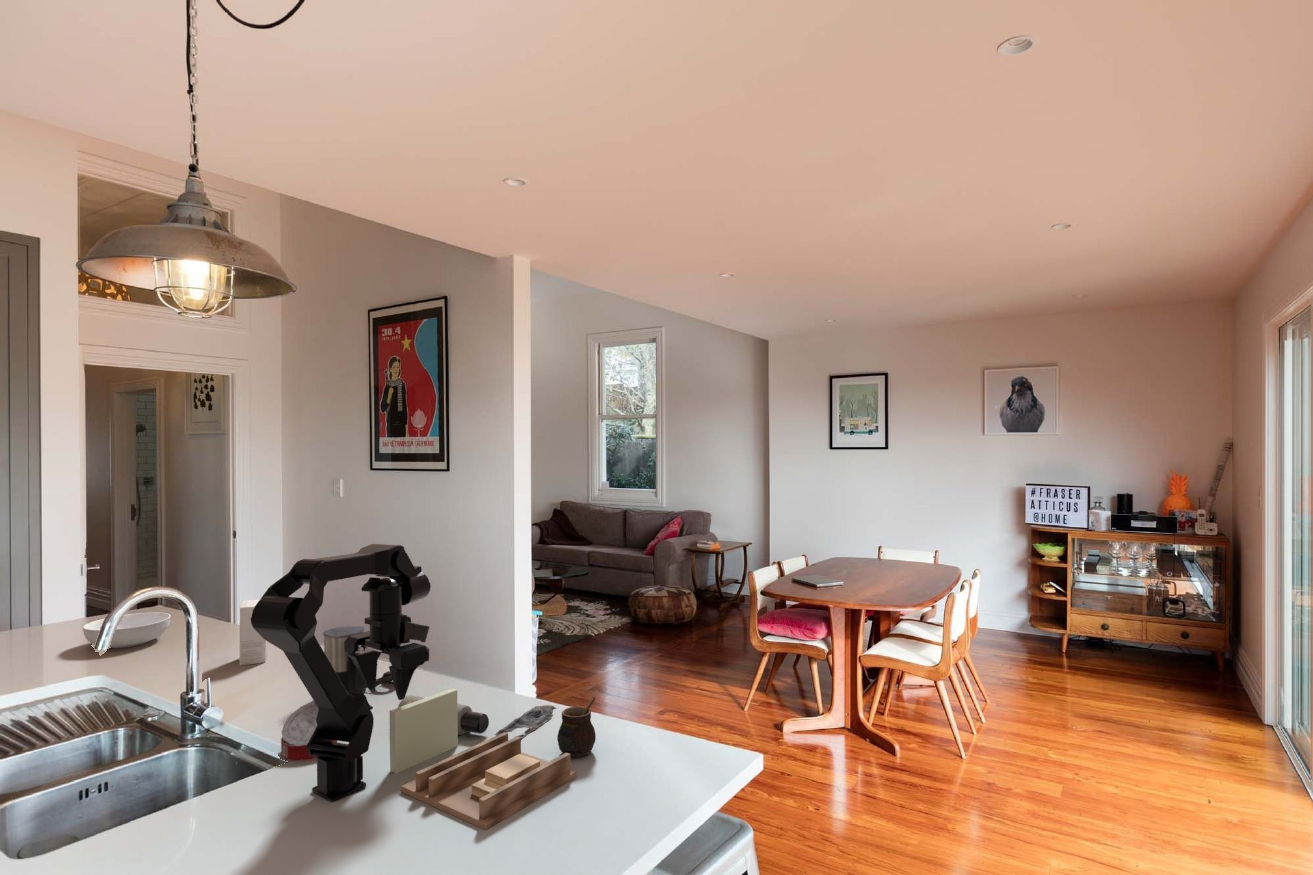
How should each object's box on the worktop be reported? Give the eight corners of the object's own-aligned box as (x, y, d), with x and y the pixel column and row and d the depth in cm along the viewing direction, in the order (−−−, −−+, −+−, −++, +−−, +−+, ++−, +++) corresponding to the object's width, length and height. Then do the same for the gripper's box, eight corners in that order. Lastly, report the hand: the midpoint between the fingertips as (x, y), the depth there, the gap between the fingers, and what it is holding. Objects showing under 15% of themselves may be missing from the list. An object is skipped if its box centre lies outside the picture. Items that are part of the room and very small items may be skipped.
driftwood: (540, 707, 164) (540, 698, 164) (566, 712, 162) (566, 702, 162) (483, 745, 145) (483, 734, 145) (512, 750, 143) (512, 740, 143)
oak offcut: (505, 787, 121) (505, 778, 121) (485, 779, 124) (485, 770, 124) (540, 769, 127) (540, 760, 127) (519, 762, 130) (519, 753, 130)
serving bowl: (166, 630, 229) (166, 608, 229) (175, 644, 213) (175, 621, 213) (81, 642, 216) (81, 619, 216) (84, 659, 200) (84, 634, 200)
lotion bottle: (392, 720, 151) (473, 736, 144) (402, 692, 154) (481, 706, 146) (409, 725, 156) (488, 741, 148) (418, 697, 158) (496, 711, 151)
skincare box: (241, 657, 201) (241, 600, 200) (269, 654, 203) (268, 598, 203) (239, 666, 193) (238, 607, 193) (267, 662, 196) (266, 604, 196)
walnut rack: (485, 829, 113) (485, 803, 113) (401, 791, 125) (401, 768, 125) (576, 776, 130) (576, 754, 130) (494, 747, 142) (494, 727, 142)
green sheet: (395, 773, 132) (394, 712, 132) (390, 771, 133) (389, 710, 132) (457, 746, 143) (457, 689, 143) (452, 744, 144) (451, 688, 144)
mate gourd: (549, 752, 140) (549, 699, 140) (582, 741, 145) (582, 690, 145) (570, 765, 135) (570, 710, 134) (604, 753, 139) (603, 700, 139)
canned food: (339, 768, 144) (357, 727, 142) (289, 783, 136) (308, 739, 134) (312, 729, 150) (329, 689, 148) (263, 741, 142) (280, 699, 140)
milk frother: (313, 697, 170) (313, 633, 170) (362, 675, 185) (362, 617, 185) (363, 704, 165) (362, 639, 165) (409, 682, 180) (408, 621, 180)
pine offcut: (496, 804, 119) (496, 794, 119) (471, 793, 122) (471, 784, 122) (544, 777, 128) (544, 768, 127) (519, 768, 131) (519, 760, 131)
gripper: (452, 609, 139) (453, 691, 139) (393, 597, 150) (393, 673, 150) (402, 621, 130) (402, 710, 130) (342, 607, 141) (343, 689, 141)
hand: (386, 694), depth 138 cm, fingers open, 9 cm apart
